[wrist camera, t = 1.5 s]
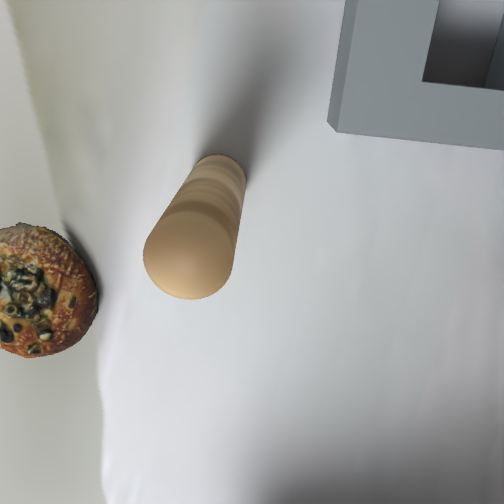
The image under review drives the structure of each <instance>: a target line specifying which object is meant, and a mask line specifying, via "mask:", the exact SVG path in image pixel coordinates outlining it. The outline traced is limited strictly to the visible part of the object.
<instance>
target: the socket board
mask: <svg viewBox="0 0 504 504" xmlns="http://www.w3.org/2000/svg"><path fill="white" fill-rule="evenodd" d="M438 5H439V0H346V2H345V8H344V15H343V21H342V27H341V34H340V40H339V47H338V53H337V60H336V66H335V72H334V79H333V85H332V92H331V98H330V105H329V111H328V117H327V122H328V123H329V124H330V125H331V127H332V128H333V129H334V130H335V131H336V132H338V133H347V134H356V135H366V136H375V137H384V138H394V139H403V140H412V141H421V142H431V143H440V144H449V145H458V146H468V147H477V148H486V149H495V150H504V15H503V19H502V23H501V26H500V30H499V34H498V38H497V41H496V45H495V49H494V52H493V56H492V60H491V64H490V67H489V71H488V75H487V78H486V82H485V86H484V87H477V86H468V85H458V84H449V83H440V82H431V81H422V77H423V73H424V68H425V64H426V59H427V55H428V50H429V46H430V41H431V37H432V32H433V28H434V23H435V19H436V14H437V9H438Z"/></svg>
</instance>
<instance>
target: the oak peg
mask: <svg viewBox="0 0 504 504" xmlns="http://www.w3.org/2000/svg"><path fill="white" fill-rule="evenodd" d="M245 189H246V177H245V174H244V171H243V169H242V168H241V166H240V165H239V164H238V163H237V162H236V161H235V160H233V159H232V158H230V157H228V156H225V155H218V154H216V155H210V156H207V157H205V158H203V159H201V160H200V161H199V162H198V163H197V164H196V165H195V166H194V168H193V169H192V171H191V173H190V174H189V176H188V177H187V179H186V180H185V182H184V183H183V185H182V186H181V188H180V189H179V191H178V192H177V194H176V195H175V197H174V198H173V200H172V201H171V203H170V204H169V206H168V207H167V209H166V210H165V212H164V213H163V215H162V216H161V218H160V219H159V221H158V222H157V224H156V225H155V227H154V228H153V230H152V232H151V233H150V235H149V236H148V238H147V240H146V242H145V246H144V250H143V261H144V266H145V269H146V271H147V273H148V275H149V277H150V279H151V280H152V281H153V282H154V284H155V285H156V286H157V287H159V288H160V289H161V290H162V291H164V292H165V293H167V294H169V295H171V296H174V297H177V298H181V299H190V300H192V299H201V298H204V297H208V296H210V295H212V294H214V293H215V292H217V291H218V290H219V289H220V288H222V287H223V285H224V284H225V283H226V282H227V280H228V278H229V276H230V274H231V271H232V266H233V260H234V254H235V248H236V242H237V236H238V230H239V224H240V218H241V213H242V207H243V201H244V195H245Z"/></svg>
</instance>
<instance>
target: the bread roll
mask: <svg viewBox="0 0 504 504" xmlns="http://www.w3.org/2000/svg"><path fill="white" fill-rule="evenodd" d="M97 312H98V293H96V285H95V283H94V279H93V278H92V275H91V272H90V271H89V269H88V267H87V265H86V264H85V263H84V260H83V259H82V258H80V257H78V256H77V255H76V253H75V252H74V250H73V249H72V247H71V246H70V244H69V242H68V241H67V240H65V239H64V238H62V236H60V235H59V234H58V233H56V232H55V231H53V230H49V229H47V228H46V227H39V226H36V227H35V226H31V225H28V224H26V223H21V222H19V223H18V224H16V226H15V227H14V226H11V227H9V228H3V229H0V344H1V348H2V349H5V350H6V351H8V352H11V353H15V354H17V355H20V356H22V357H24V358H35V357H40V356H47V355H53V354H55V353H58V352H61V351H63V350H65V349H67V348H69V347H71V346H73V345H74V344H76V343H77V342H78V341H80V340H81V338H82V337H83V336H84V335H85V334H86V332H87V331H88V329H89V327H90V326H91V325H92V322H93V321H94V320H95V316H96V314H97Z"/></svg>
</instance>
